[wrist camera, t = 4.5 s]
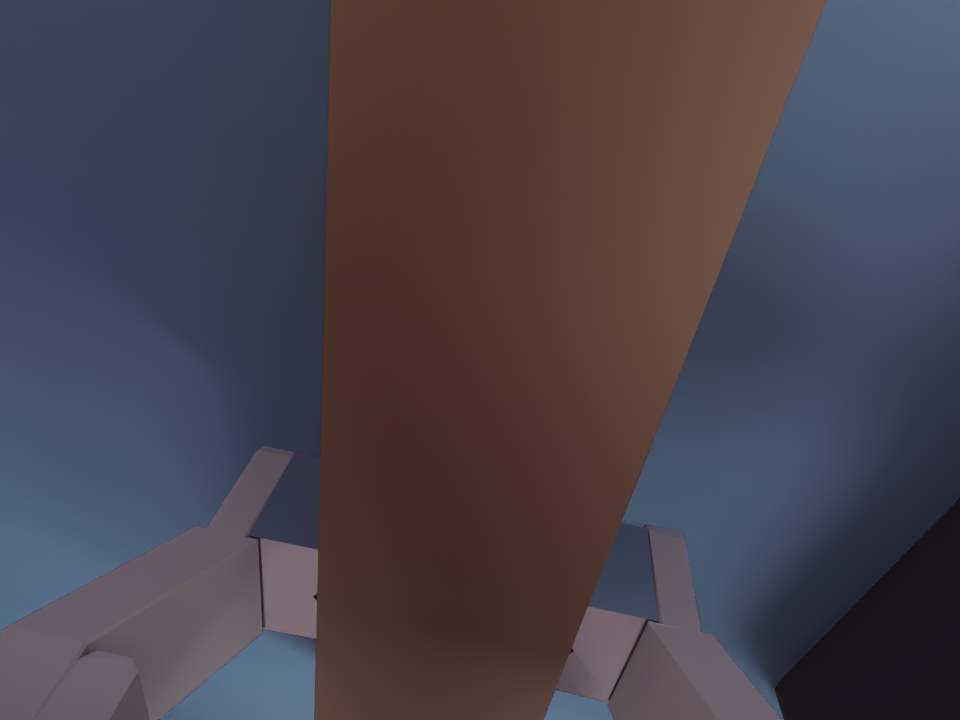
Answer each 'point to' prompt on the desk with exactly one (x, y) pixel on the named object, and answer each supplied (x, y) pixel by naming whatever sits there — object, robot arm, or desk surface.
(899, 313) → the desk surface
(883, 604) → the calculator
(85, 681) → the robot arm
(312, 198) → the desk surface
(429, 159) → the rail
